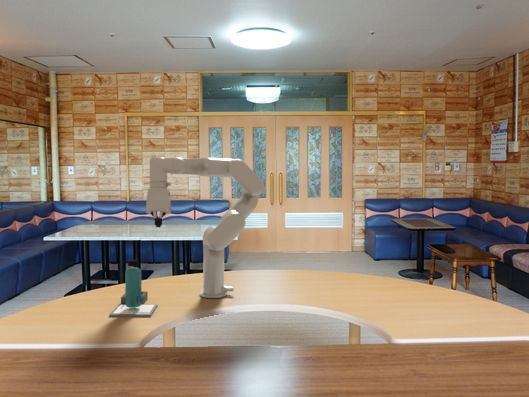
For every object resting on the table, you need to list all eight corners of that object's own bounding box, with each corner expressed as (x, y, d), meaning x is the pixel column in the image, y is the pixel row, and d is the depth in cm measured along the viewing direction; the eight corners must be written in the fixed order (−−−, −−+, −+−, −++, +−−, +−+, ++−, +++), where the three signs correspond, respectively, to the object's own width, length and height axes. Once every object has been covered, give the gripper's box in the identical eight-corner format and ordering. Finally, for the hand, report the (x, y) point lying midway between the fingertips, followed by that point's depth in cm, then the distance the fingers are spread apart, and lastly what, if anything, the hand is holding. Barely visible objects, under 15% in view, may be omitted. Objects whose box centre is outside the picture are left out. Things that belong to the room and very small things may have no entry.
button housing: (147, 299, 192) (147, 291, 191) (142, 305, 183) (142, 297, 182) (126, 299, 191) (126, 291, 191) (121, 305, 182) (120, 297, 182)
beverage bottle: (137, 312, 171) (137, 262, 170) (121, 310, 173) (121, 261, 171) (144, 307, 178) (144, 258, 176) (129, 305, 179) (129, 258, 178)
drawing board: (157, 306, 182) (157, 303, 182) (150, 316, 169) (150, 314, 169) (119, 306, 181) (119, 303, 181) (109, 316, 168) (109, 314, 168)
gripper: (177, 185, 194) (176, 226, 195) (143, 184, 193) (143, 225, 195) (174, 186, 186) (174, 228, 188) (139, 185, 186) (139, 227, 187)
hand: (158, 226), depth 191 cm, fingers closed
